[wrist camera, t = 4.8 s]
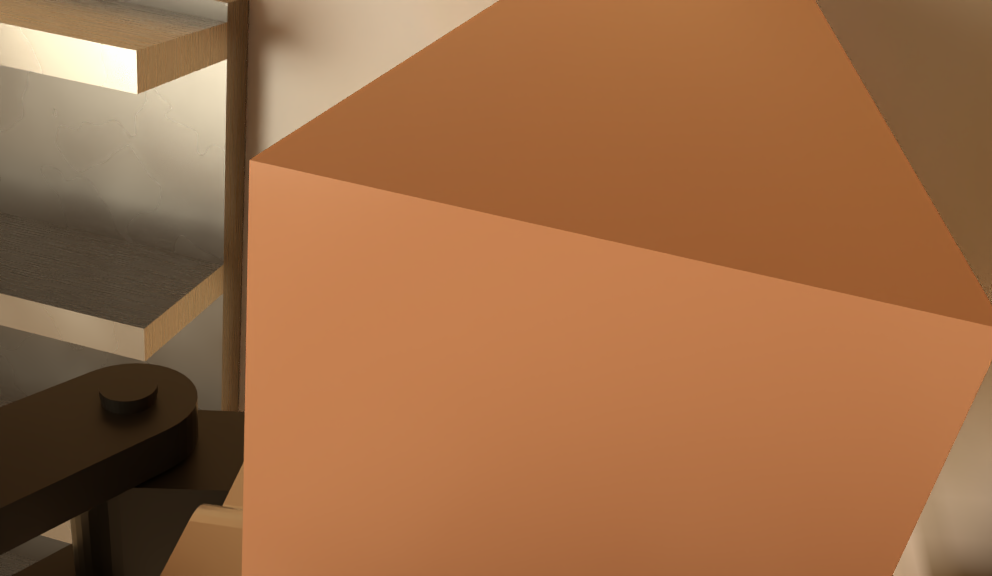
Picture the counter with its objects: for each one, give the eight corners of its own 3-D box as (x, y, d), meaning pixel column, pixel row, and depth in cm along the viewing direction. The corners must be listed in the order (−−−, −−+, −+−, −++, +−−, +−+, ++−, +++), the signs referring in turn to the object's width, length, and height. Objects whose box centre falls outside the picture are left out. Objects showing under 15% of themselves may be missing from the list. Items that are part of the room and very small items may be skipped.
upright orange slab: (595, -62, 13) (248, 159, 4) (800, -25, 13) (1004, 328, 3) (499, 470, 18) (230, 1189, 8) (648, 510, 18) (548, 1315, 8)
